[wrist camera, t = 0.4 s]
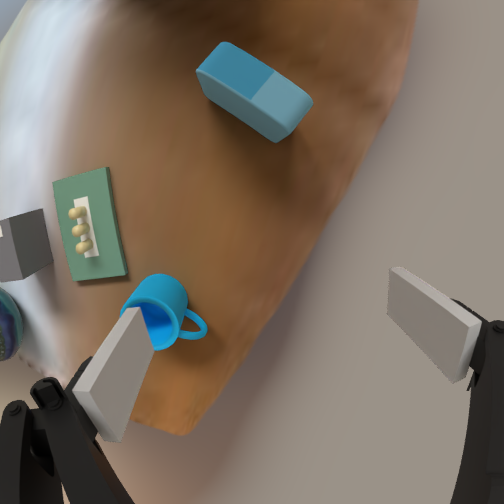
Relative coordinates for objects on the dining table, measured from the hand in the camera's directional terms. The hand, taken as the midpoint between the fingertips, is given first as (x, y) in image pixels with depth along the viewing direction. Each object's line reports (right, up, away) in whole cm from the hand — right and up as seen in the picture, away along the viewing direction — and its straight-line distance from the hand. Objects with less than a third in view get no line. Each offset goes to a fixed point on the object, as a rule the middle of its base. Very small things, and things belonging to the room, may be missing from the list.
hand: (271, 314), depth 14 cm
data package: (-1, +23, +22) cm, 32 cm away
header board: (-26, +7, +25) cm, 36 cm away
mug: (-13, -5, +29) cm, 32 cm away
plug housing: (-38, +6, +24) cm, 45 cm away
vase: (-51, -9, +28) cm, 59 cm away
